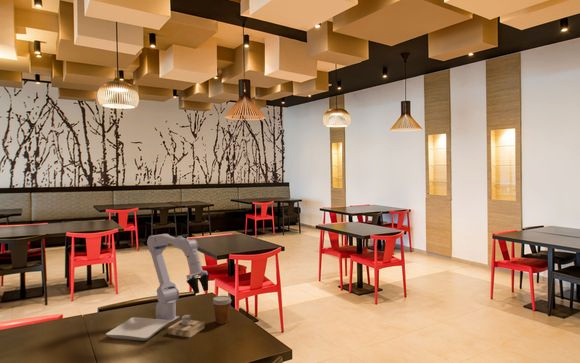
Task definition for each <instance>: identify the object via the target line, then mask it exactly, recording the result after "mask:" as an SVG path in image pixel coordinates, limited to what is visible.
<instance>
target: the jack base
mask: <svg viewBox="0 0 580 363" xmlns="http://www.w3.org/2000/svg"><path fill="white" fill-rule="evenodd" d="M204 329H205V321H200V320H195V319H194V320H193V319H191V324H190V325H189V326H188V327H187V326H182V319H181V320H179V321H177V322H176V323H174V324H172V325H170V326H169V327H167V334H168V335H172V336H177V337H183V338H188V339H189V338H192V337H194V336H195V335H196V334H198V333H200V332H201V331H202V330H204Z"/></svg>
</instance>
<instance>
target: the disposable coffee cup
mask: <svg viewBox="0 0 580 363" xmlns="http://www.w3.org/2000/svg"><path fill="white" fill-rule="evenodd" d="M231 303H232V299H231V296H229V295H217V296H215V297H213V298H212V304H213V310H214V311H213V312H214V317H215V318H214V319H215V323H216V324H217V323H218V324H219V325H225V324H228V323H229V321H230V320H229V319H230V312H231V311H230V310H231ZM227 322H228V323H227ZM224 323H225V324H224Z"/></svg>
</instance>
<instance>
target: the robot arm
mask: <svg viewBox="0 0 580 363" xmlns="http://www.w3.org/2000/svg"><path fill="white" fill-rule="evenodd" d="M146 244H147V248H148V251H149V253H150V255H151V259H152V262H153V266H154V269H155V272H156V275H157V279H158V282H159V286H158V287H157V289H156V291H155V292H156V299H157V301H158V302H157V303H156V306H155V319H161V320H169V321H170V322H169V323H172V322H174V321H175V320H177V319H180V316H179V315H176V314H177V311H176V309H177V308H176V306H177V305H176V303H177V301H178V299H179V297H180V291H179V289H178V287H177V286H176V284H175V283H174V282H172V281H171V279H170V275H169V272H168V269H167V265H166V262H165V259H164V256H163V253H164V251H165V250H166V249H167V247H168V246H169V244H170V245H173V247H174V248H176V249H178V250H182V252H183V253H184V256H185V257H186V261H187V264H188V270H189V274H188V275H186V283H187V285H189V286H190V287H191V290H192V291H193V293H194V294H195V295H196V294H199V293H200V288H199V283H200V285H201V288H202V291H204V292H207V291H209V280H210V274H209V273H208V271H207V270H203V267H202V264H201V260H200V255H199V252H198V249H199V247H200V246H199V242H198V240H197V239H195V238H192V239H189V238H188V237H183V235H178V236H177V237H175V236H172V235H170V234H169V233H161V234H155V235H154V234H153V235H149V236H148V238H147V242H146Z"/></svg>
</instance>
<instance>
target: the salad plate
mask: <svg viewBox="0 0 580 363" xmlns="http://www.w3.org/2000/svg"><path fill="white" fill-rule="evenodd" d="M170 323H171V322H170V321H169V320H161V319H156V318H150V317H149V318H148V317H138V316H137V317H134V316H133V317H131V318H129V319H127V320H126V321H124V322H123V323H121V324H119V325H118V326H116V327H115V328H113V329H111V330H110V331H108V332H106V333H105V336H107V337H109V338H111V339H119V340H129V341H130V340H131V341H140V342H141V341H147V340H149V339H151V338H152V337H153V336H154V335H155V334H157V333H158V332H159V331H161V330H162V329H164V328H165V327H166V326H167V325H169V324H170Z"/></svg>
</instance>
